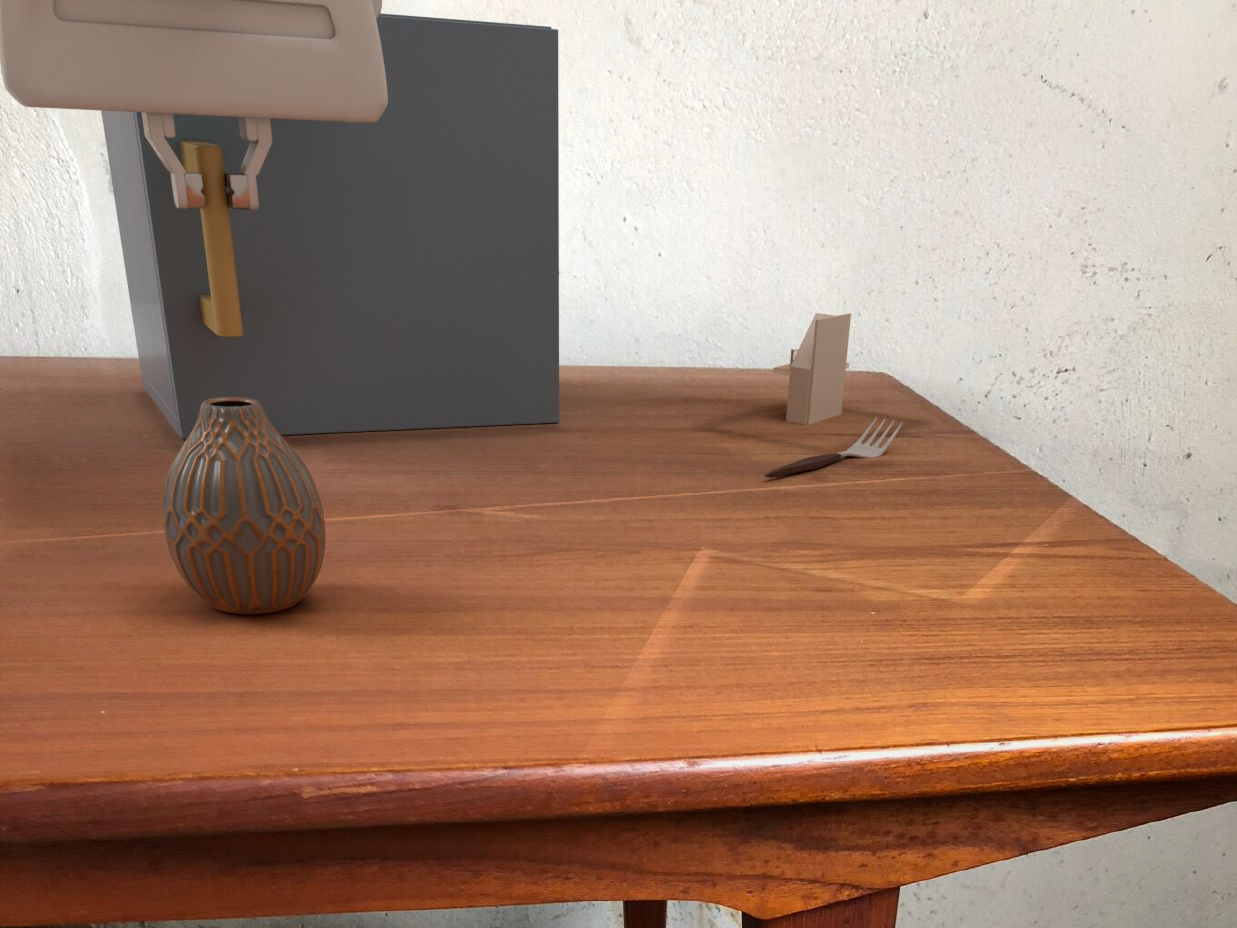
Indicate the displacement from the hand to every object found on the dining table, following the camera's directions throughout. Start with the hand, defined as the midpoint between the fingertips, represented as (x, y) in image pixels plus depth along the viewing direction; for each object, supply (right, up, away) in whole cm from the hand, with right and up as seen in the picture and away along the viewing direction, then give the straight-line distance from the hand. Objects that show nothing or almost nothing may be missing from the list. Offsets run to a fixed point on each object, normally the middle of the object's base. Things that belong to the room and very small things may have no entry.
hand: (216, 208), depth 79 cm
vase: (+7, -27, -15) cm, 32 cm away
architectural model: (+37, -2, +28) cm, 46 cm away
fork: (+37, -10, +15) cm, 41 cm away
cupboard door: (+7, -8, +14) cm, 18 cm away
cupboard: (+1, -2, +24) cm, 24 cm away
